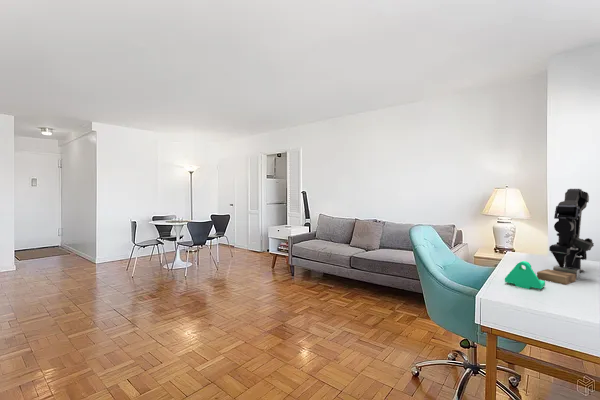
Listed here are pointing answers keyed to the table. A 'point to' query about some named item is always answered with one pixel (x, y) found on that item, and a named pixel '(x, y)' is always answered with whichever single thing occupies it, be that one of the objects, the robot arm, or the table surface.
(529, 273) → the camera mount
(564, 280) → the stand
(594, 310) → the table surface
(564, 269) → the block
